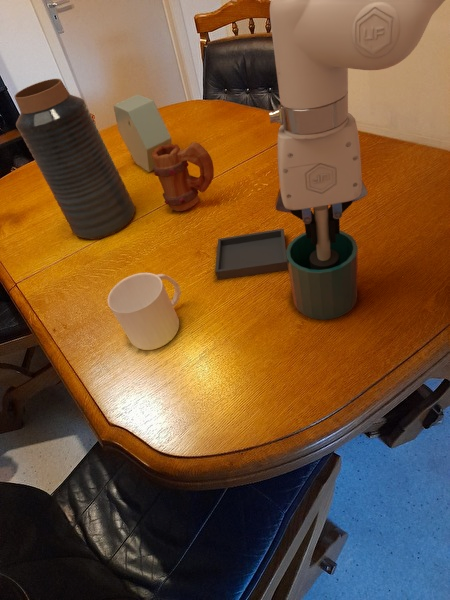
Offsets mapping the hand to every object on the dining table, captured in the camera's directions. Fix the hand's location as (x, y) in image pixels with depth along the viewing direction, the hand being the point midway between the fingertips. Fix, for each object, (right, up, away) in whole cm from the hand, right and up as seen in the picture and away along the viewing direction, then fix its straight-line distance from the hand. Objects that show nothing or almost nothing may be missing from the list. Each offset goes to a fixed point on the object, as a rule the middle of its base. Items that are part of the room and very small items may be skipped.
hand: (322, 238), depth 60 cm
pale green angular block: (-35, +31, +60) cm, 76 cm away
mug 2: (-22, +13, +37) cm, 45 cm away
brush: (+2, -6, +6) cm, 9 cm away
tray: (-9, -1, +18) cm, 21 cm away
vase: (-44, +10, +42) cm, 62 cm away
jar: (+2, -9, +7) cm, 11 cm away
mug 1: (-25, -14, +11) cm, 31 cm away
